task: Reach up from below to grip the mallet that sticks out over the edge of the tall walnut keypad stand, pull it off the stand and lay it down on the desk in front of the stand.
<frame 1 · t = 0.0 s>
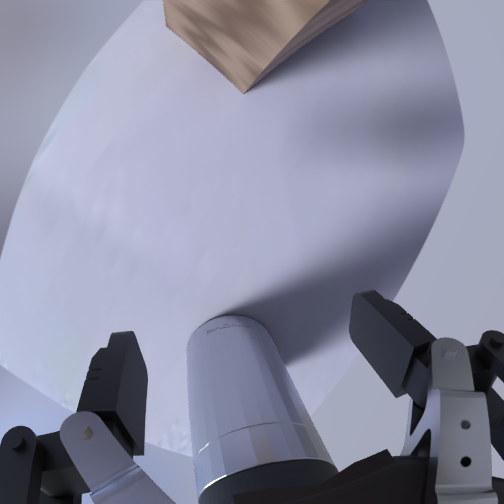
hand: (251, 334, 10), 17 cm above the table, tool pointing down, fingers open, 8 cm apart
keypad stand: (266, 11, 21), on the table
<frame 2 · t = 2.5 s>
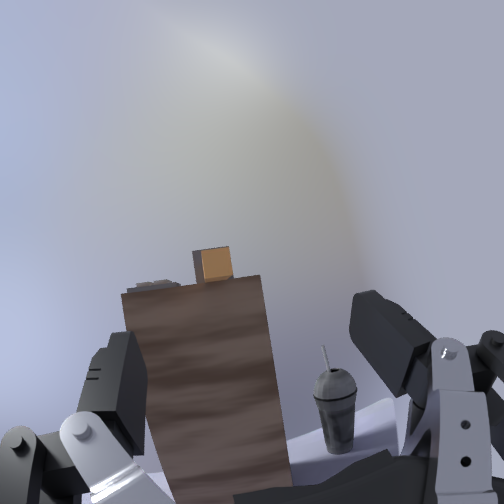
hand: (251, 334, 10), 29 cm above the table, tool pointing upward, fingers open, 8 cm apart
mallet: (215, 281, 33), point 32 cm above the table, touching keypad stand
keypad stand: (234, 490, 33), on the table
beverage cup: (340, 448, 42), on the table
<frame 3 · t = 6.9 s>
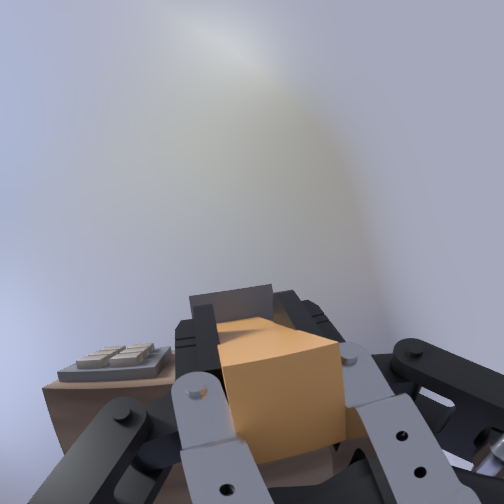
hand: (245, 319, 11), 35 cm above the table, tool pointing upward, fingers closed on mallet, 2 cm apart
mallet: (247, 372, 13), point 32 cm above the table, touching gripper, keypad stand
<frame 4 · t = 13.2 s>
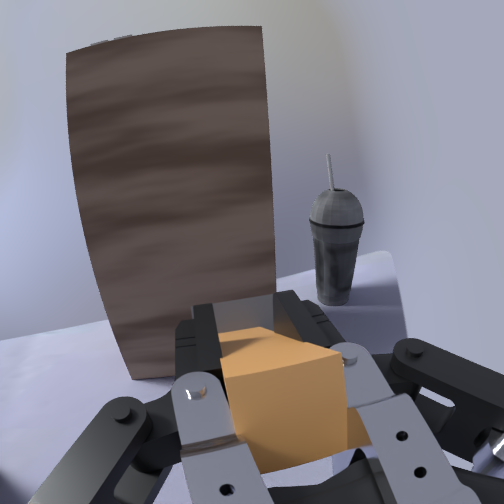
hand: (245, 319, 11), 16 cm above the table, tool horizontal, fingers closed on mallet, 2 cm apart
mallet: (250, 382, 13), point 12 cm above the table, tilted 32°, touching gripper
keypad stand: (200, 343, 34), on the table
beverage cup: (332, 298, 42), on the table
when the fingers open (8 cm above the table, at t = 15.1 s): mallet drops 5 cm, on the table.
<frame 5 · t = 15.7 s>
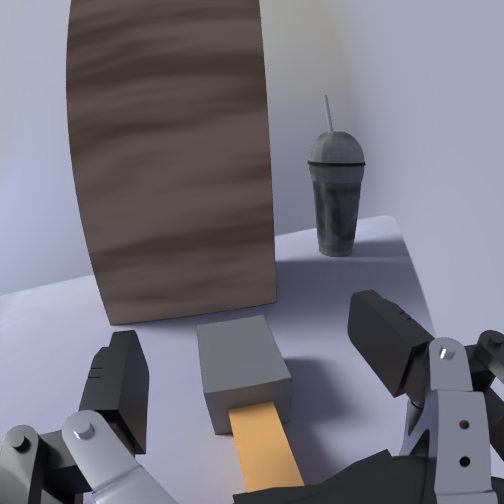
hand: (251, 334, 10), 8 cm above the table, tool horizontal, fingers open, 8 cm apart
mallet: (261, 456, 13), on the table
keypad stand: (190, 290, 31), on the table
beverage cup: (335, 251, 39), on the table
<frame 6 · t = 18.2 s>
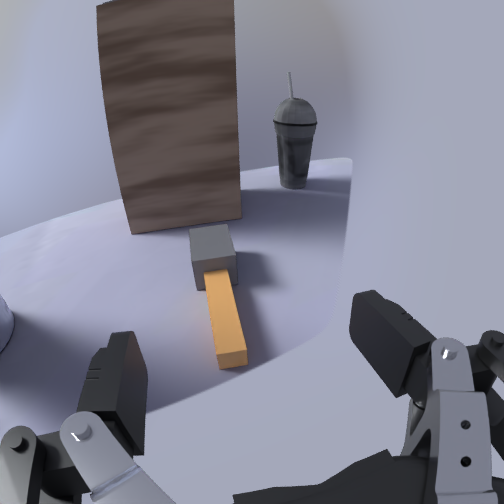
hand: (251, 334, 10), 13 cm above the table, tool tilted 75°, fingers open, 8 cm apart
mallet: (220, 301, 30), on the table
keypad stand: (185, 209, 45), on the table
beverage cup: (292, 184, 52), on the table
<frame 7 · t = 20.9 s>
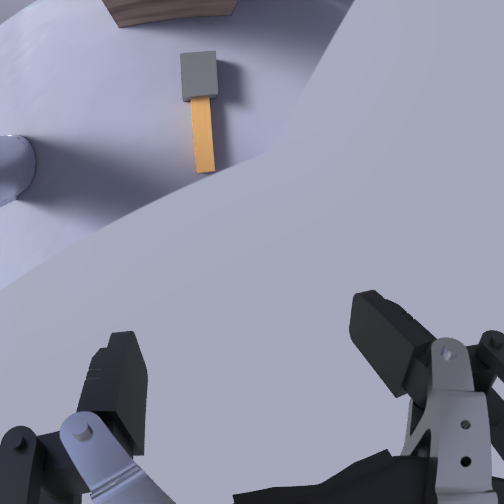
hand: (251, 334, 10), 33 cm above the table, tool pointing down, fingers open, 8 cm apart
mallet: (200, 113, 37), on the table
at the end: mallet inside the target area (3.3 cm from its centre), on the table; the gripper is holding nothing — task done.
